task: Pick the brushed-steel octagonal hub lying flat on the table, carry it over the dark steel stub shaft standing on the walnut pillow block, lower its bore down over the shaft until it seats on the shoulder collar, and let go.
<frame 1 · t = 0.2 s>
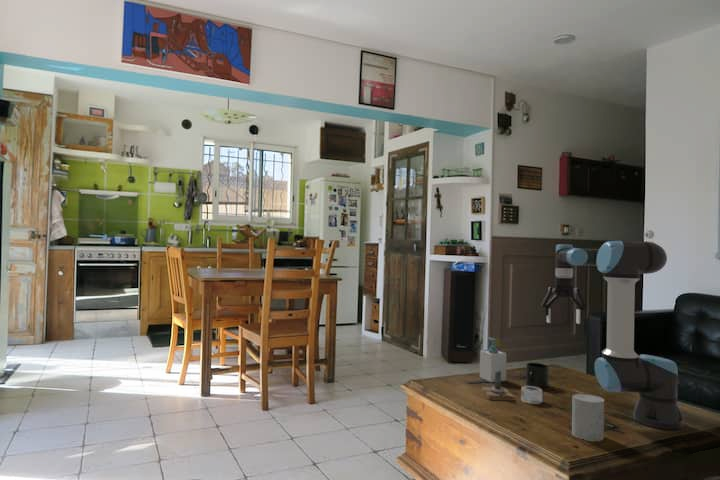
hand: (563, 323, 217), 28 cm above the table, fingers open, 13 cm apart
mug: (535, 386, 211), on the table
white cylinder: (587, 436, 153), on the table
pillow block: (497, 395, 194), on the table
hub: (531, 401, 188), on the table
soap bottle: (492, 379, 220), on the table
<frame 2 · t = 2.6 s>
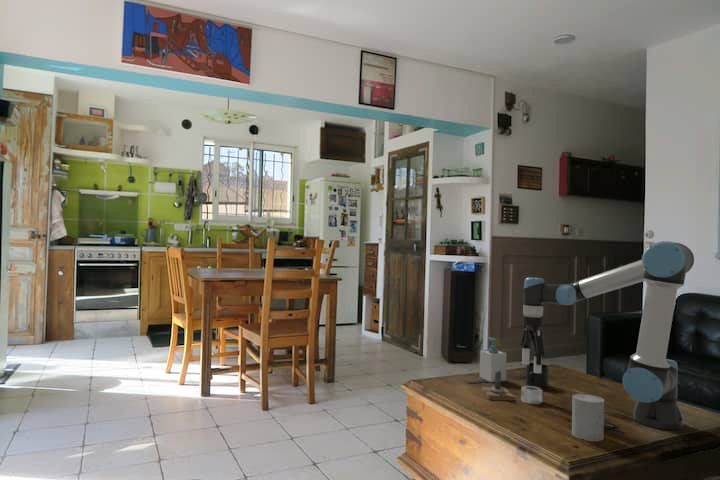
hand: (531, 368, 189), 13 cm above the table, fingers open, 13 cm apart
nothing on the table moved.
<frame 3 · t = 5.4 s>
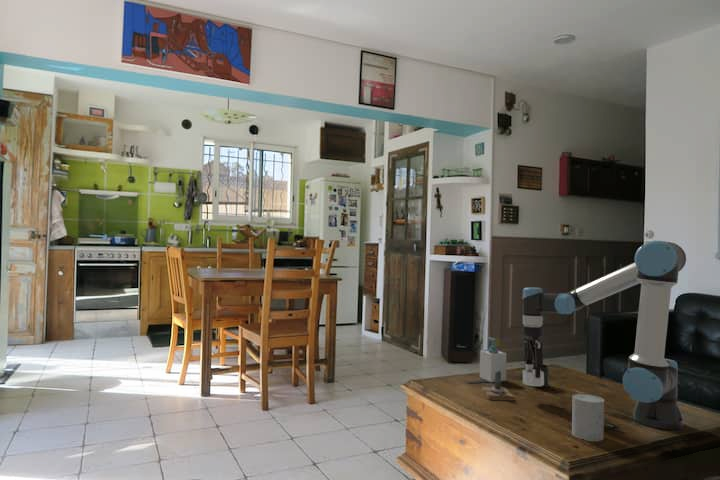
hand: (533, 383, 188), 7 cm above the table, fingers closed on hub, 7 cm apart
hub: (533, 383, 188), point 7 cm above the table, touching gripper
everything else where it was.
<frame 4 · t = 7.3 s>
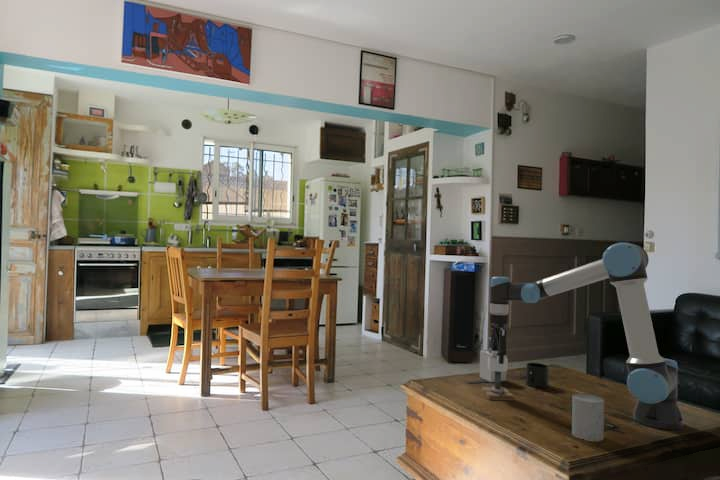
hand: (497, 368, 195), 11 cm above the table, fingers closed on hub, 7 cm apart
hub: (497, 369, 195), point 11 cm above the table, touching gripper
everything else where it was.
when the fingers open (4 cm above the table, at t = 9.1 s): hub stays where it is, resting on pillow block.
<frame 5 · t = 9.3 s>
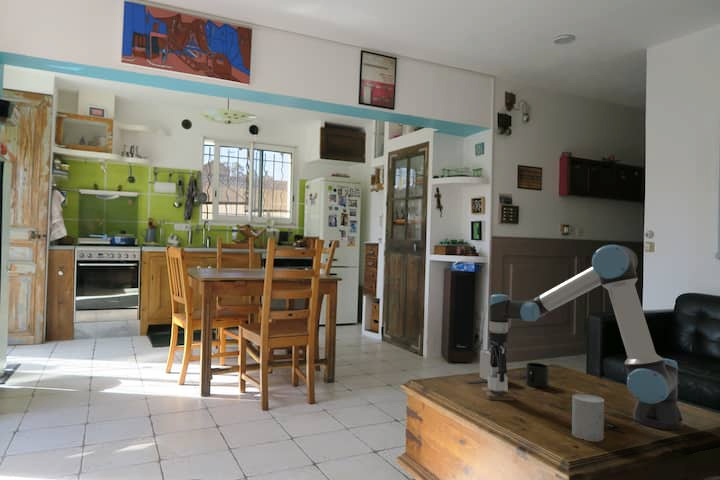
hand: (497, 386, 194), 4 cm above the table, fingers open, 9 cm apart
hub: (497, 388, 194), point 3 cm above the table, touching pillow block
everything else where it was.
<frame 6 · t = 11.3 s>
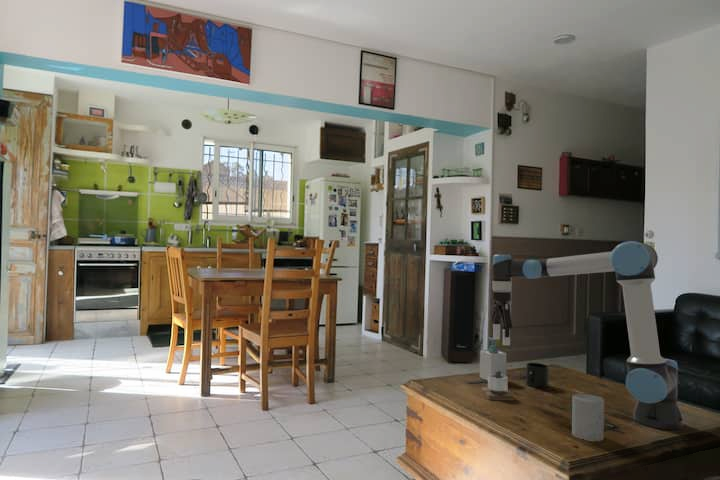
hand: (501, 342, 195), 22 cm above the table, fingers open, 13 cm apart
nothing on the table moved.
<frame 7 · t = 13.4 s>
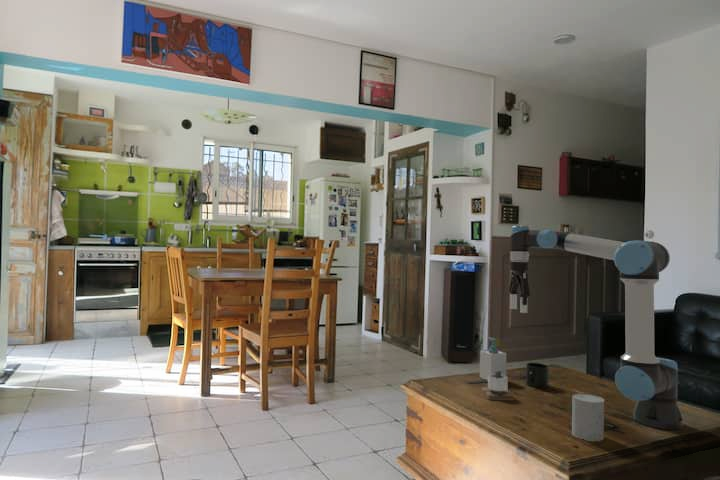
hand: (518, 310, 201), 35 cm above the table, fingers open, 13 cm apart
nothing on the table moved.
at the end: hub 0.0 cm off-centre on the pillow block, point 3.0 cm above the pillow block's base; hub tilted 0°; the gripper is holding nothing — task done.
